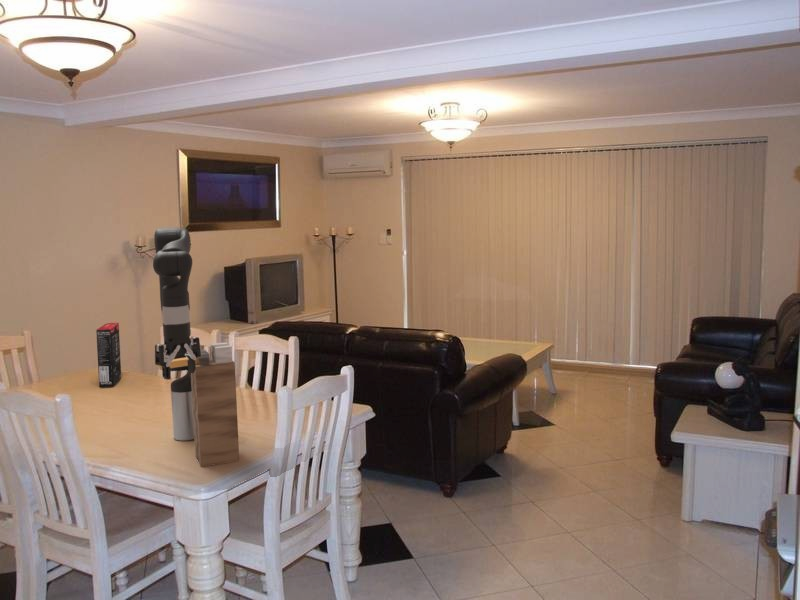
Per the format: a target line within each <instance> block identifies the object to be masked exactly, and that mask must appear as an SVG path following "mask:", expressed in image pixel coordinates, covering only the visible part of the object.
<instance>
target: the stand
mask: <svg viewBox="0 0 800 600" xmlns="http://www.w3.org/2000/svg"><path fill="white" fill-rule="evenodd" d="M200 350H201V356H200V357H198V358H199V364H195V366H196V369H195V372H194V373H191V387H192V405H193V423H194V439H193V440H194V452H195V453H194V456H195V459H196V461H197V460H198V461H197V463H198V462H199V463H198V464H199V466H200V468H203V466H204V467H209V465H210V466H214V465H213V464H216V465H221V464H220V463H222V464H227V463H226V462H228V463H233V461H234V462H238V461H240V446H239V444H240V443H239V426H238V425H239V424H238V421H239V420H238V403H237V402H238V401H237V385H236V384H237V383H236V363H235V361H233V347H232V346H231V344H229V343H228V342H215V343H210V353H209V352H208V351H207V350H206V349H200Z"/></svg>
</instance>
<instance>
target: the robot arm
mask: <svg viewBox="0 0 800 600" xmlns="http://www.w3.org/2000/svg"><path fill="white" fill-rule="evenodd" d="M153 238H154V250H155V255H154V257H153V260H152V268H153V271H154V273H155V274H156V275H158V280H159V281H158V282H159V298H160V301H159V302H160V310H161V317H162V331H163V332H162V333H163V344H159V343H158V344H155V345H154V365H156V366H158V365H159V366H162V370H161V371H162V372H161V373H162V374H161V375H162V377H163V379H164V380H167V381H168V380H171V379H172V374H171V372H183V371H187V373H186V374H184V375H183V376H181V377H178V378H177V379H174V380H173V381H172V382H171V383H170V395H171V396H170V397H171V410H172V411H171V413H172V429H173V430H172V432H173V439H174V440H176V441H191V440H194V423H193V405H192V387H191V373H194V372H195V369H196V366H195V360H196V358H198V357H200V356H201V350H202V349H201V343H200V337H197V336H191V335H192V332H191V331H192V330H191V315H190V314H191V313H190V311H191V310H190V305H191V304H190V293H189V290H188V289H189V281H190V277H191V276H190V275H191V272H192V268H193V258H192V256H191V254H190V251H191V247H192V246H191V245H192V244H191V235H190V232H189V230H188V229H187V228H185V227H164V228H161V227H160V228H157V229H156V230H155V232H154V237H153ZM190 336H191V337H190ZM185 357H187V358H188V359H189V360H187V361H188V366H182V367H176V368H170V367H169V365H170V363H171V361H172V360H174V359H179V358H185ZM159 366H158V367H159Z"/></svg>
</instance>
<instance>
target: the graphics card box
mask: <svg viewBox="0 0 800 600" xmlns="http://www.w3.org/2000/svg"><path fill="white" fill-rule="evenodd" d="M95 331H96V332H95V333H96V348H97V367H98V370H97V371H98V387H99V388H115V387H114V386H115V385H117V384H118V383H119V382H120V380H122V363H121V345H120V344H121V342H120V324H119V322H107V323H105V324H103V325H102V326H100V327H99V328H97V329H95Z"/></svg>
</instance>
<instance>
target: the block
mask: <svg viewBox="0 0 800 600" xmlns="http://www.w3.org/2000/svg"><path fill="white" fill-rule="evenodd" d="M187 360H189V359H188V358H187V357H185V358H179V359H174V360H172V361H171V363H170V365H169V367H170V368H176V367H182V366H188V361H187ZM195 364H199V358H196V360H195ZM157 366H158V369H159V371H162V366H159V365H157Z"/></svg>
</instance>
